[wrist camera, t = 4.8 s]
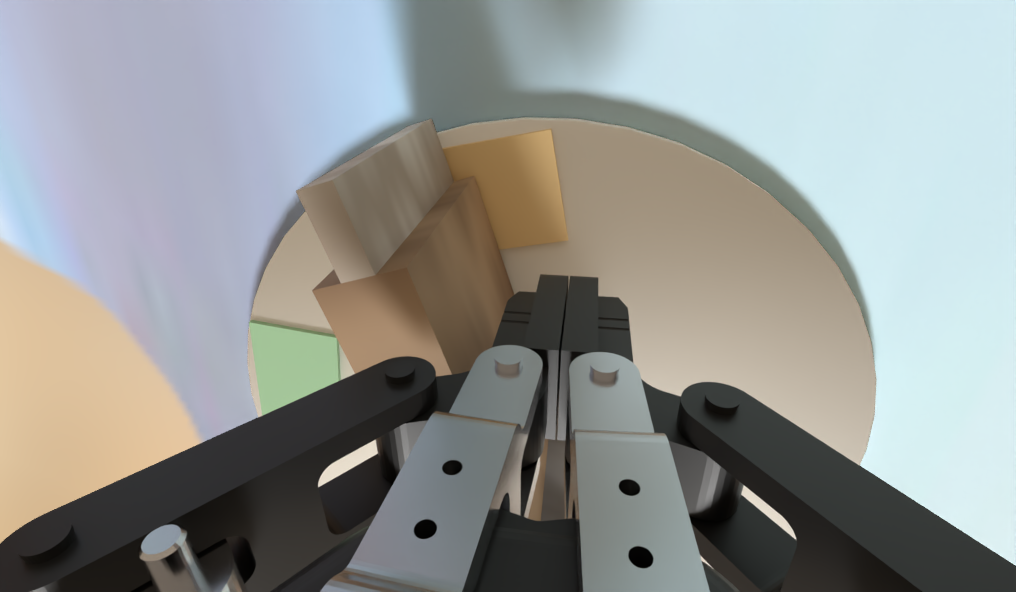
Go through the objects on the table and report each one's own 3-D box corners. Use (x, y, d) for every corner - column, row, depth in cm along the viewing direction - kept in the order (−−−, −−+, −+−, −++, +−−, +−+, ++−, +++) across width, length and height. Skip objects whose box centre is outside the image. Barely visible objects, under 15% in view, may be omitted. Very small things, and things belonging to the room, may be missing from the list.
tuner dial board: (915, 40, 14) (933, 40, 13) (838, 611, 25) (846, 628, 24) (148, 183, 19) (132, 189, 19) (361, 604, 30) (356, 618, 29)
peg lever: (595, 471, 22) (599, 673, 15) (504, 482, 23) (469, 675, 16) (480, 102, 15) (399, 164, 9) (362, 140, 16) (207, 222, 10)
